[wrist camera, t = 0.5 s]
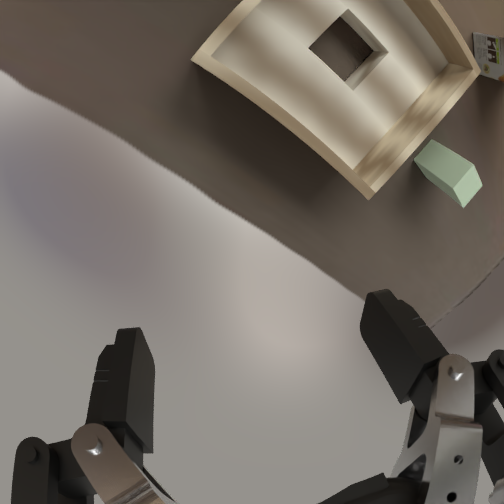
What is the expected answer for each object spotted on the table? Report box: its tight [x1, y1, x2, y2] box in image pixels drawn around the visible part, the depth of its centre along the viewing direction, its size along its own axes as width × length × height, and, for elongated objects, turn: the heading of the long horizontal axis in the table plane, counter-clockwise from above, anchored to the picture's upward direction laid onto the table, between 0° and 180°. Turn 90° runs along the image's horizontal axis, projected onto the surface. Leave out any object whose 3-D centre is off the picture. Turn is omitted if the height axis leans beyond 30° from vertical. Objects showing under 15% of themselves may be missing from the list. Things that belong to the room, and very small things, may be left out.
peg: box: [414, 139, 482, 208], centre depth 30 cm, size 4×4×8 cm
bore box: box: [191, 0, 481, 200], centre depth 21 cm, size 20×20×7 cm
